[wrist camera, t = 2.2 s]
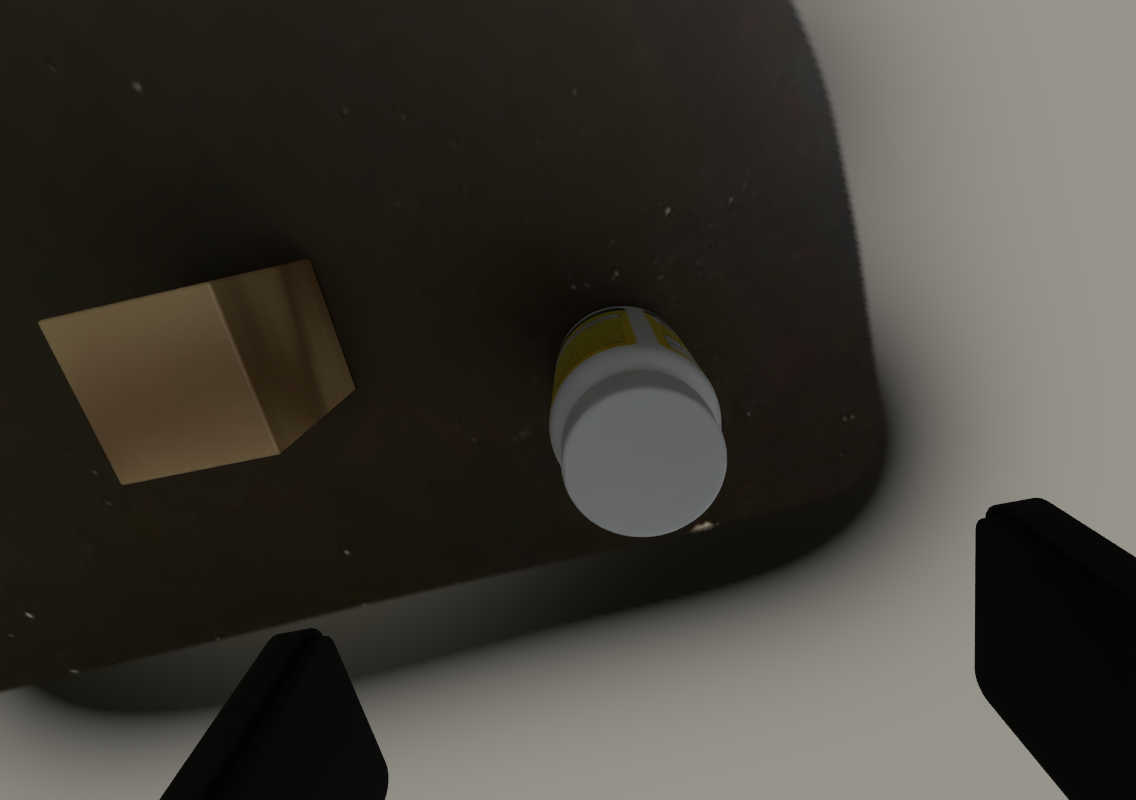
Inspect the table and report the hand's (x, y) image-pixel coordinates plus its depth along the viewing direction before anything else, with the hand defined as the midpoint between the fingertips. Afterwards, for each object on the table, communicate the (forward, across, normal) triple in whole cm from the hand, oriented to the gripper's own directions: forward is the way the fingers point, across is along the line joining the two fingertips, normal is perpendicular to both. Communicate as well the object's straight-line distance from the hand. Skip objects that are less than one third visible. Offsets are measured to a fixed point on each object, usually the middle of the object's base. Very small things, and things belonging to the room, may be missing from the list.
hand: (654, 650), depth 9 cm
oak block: (+14, +12, -4) cm, 19 cm away
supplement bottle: (+14, -1, 0) cm, 14 cm away
